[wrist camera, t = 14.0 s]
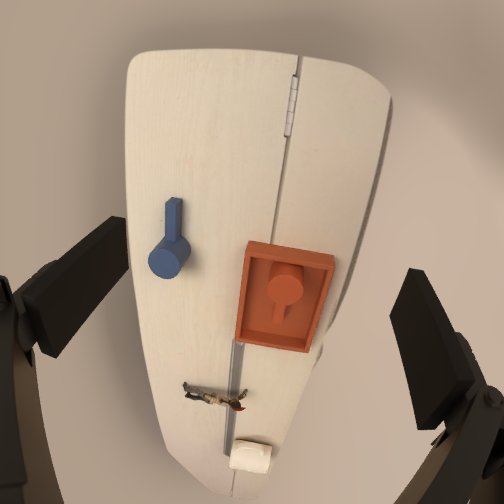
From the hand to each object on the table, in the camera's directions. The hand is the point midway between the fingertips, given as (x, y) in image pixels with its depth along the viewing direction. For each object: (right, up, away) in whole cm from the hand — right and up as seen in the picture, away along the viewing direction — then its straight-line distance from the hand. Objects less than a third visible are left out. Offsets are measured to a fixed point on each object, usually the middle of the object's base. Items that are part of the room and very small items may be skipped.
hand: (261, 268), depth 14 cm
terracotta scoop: (+4, -4, +34) cm, 34 cm away
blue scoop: (-12, +4, +33) cm, 35 cm away
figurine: (-8, -27, +49) cm, 56 cm away
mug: (0, -47, +58) cm, 75 cm away
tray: (+4, -6, +35) cm, 36 cm away
